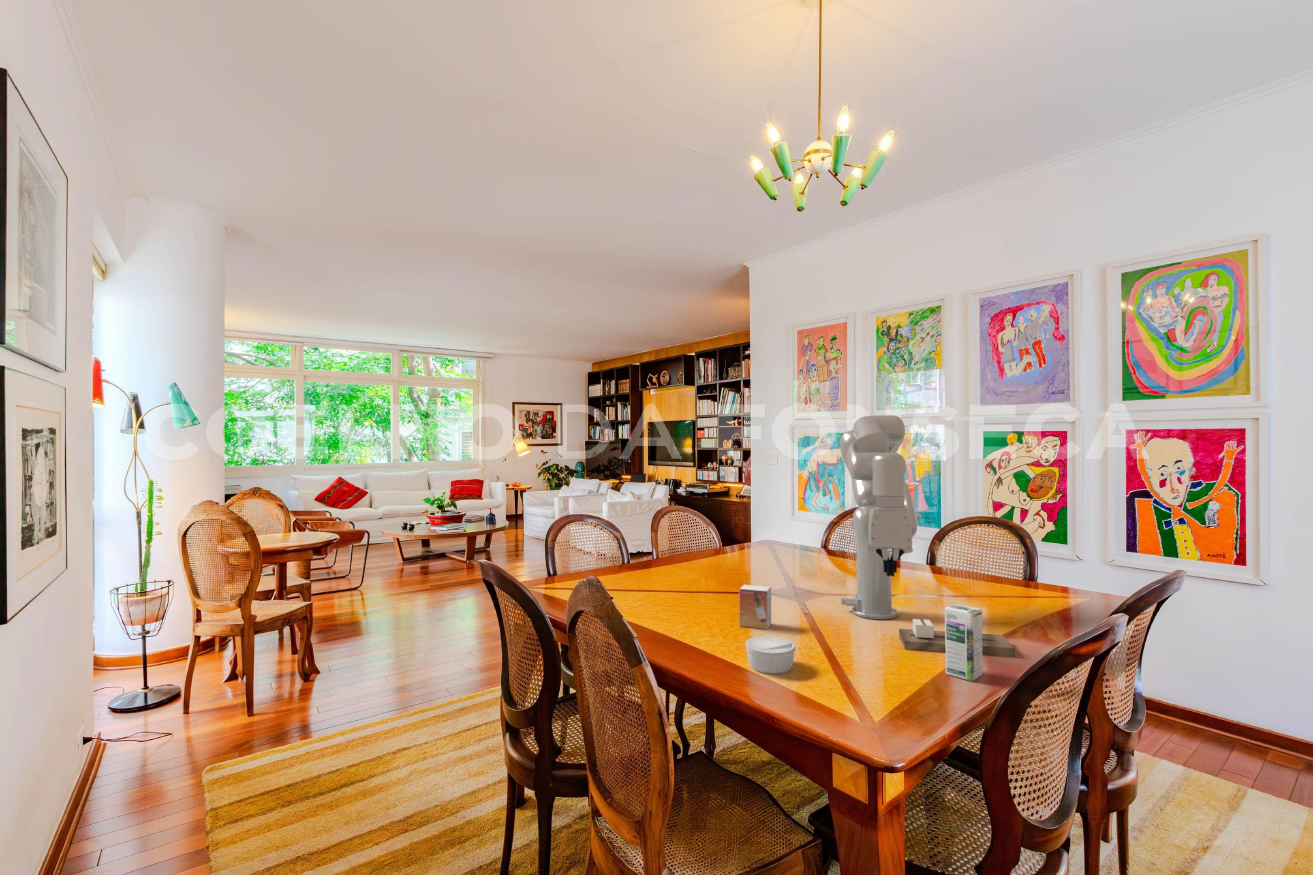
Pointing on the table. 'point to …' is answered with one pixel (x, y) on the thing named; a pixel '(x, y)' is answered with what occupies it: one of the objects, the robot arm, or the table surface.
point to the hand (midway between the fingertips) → (890, 575)
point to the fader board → (990, 645)
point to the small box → (755, 606)
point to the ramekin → (770, 654)
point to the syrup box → (963, 641)
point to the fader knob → (923, 628)
